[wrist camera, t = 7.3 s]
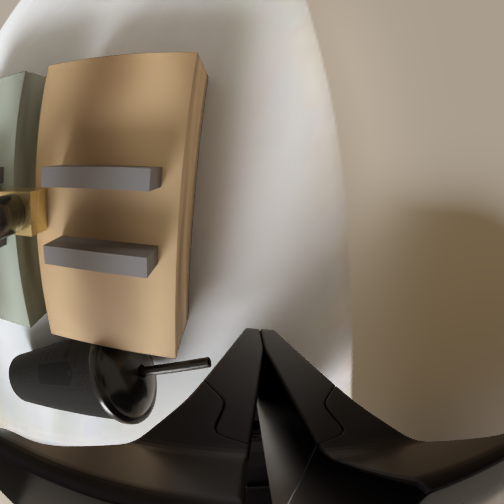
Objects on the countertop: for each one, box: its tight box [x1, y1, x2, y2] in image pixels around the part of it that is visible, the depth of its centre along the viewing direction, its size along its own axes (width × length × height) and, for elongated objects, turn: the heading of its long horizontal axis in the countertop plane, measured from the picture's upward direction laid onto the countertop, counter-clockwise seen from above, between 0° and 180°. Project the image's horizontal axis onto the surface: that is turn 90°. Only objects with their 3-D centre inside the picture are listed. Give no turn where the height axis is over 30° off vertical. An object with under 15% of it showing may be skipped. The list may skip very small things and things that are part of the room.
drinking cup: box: [9, 339, 211, 424], centre depth 20 cm, size 8×8×20 cm
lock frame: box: [0, 52, 208, 358], centre depth 16 cm, size 20×17×7 cm
